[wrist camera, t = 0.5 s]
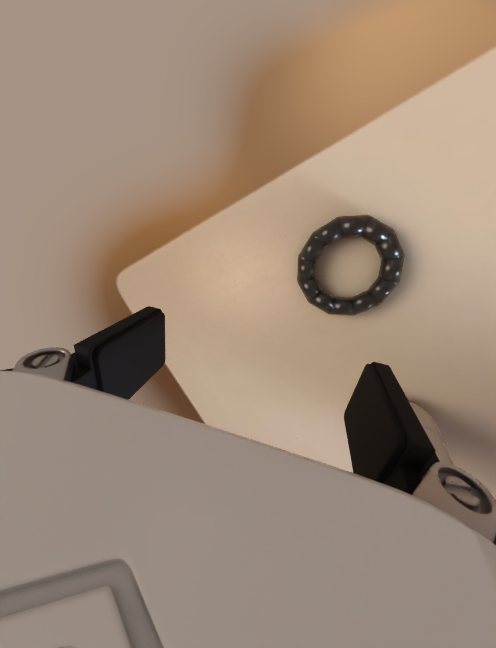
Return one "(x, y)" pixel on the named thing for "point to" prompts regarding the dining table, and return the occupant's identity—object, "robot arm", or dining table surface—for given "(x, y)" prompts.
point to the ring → (351, 227)
